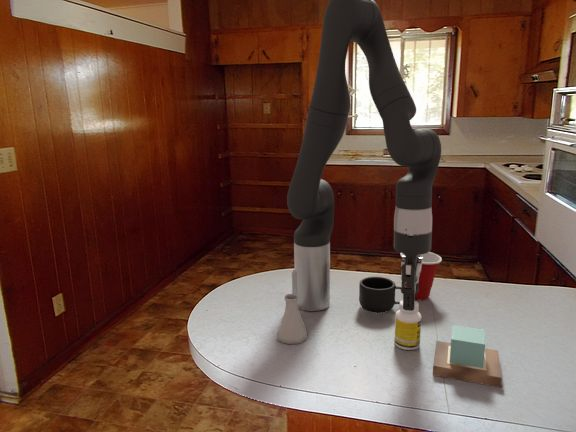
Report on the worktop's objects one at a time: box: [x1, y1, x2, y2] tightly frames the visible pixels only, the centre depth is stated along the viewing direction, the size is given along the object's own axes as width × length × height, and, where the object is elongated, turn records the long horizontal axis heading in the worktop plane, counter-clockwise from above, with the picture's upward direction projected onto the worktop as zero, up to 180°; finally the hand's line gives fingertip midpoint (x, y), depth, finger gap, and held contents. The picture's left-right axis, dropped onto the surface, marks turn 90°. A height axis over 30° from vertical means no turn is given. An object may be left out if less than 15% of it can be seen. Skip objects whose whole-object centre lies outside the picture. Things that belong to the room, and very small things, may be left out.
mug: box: [358, 276, 402, 314], centre depth 114 cm, size 12×9×7 cm
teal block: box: [450, 324, 486, 368], centre depth 88 cm, size 6×6×5 cm
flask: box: [276, 293, 308, 345], centre depth 101 cm, size 7×7×10 cm
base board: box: [432, 340, 503, 388], centre depth 89 cm, size 12×10×2 cm
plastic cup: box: [400, 251, 443, 301], centre depth 121 cm, size 11×11×12 cm
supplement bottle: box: [393, 299, 422, 351], centre depth 97 cm, size 5×5×10 cm
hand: (410, 301), depth 95 cm, fingers open, 8 cm apart
